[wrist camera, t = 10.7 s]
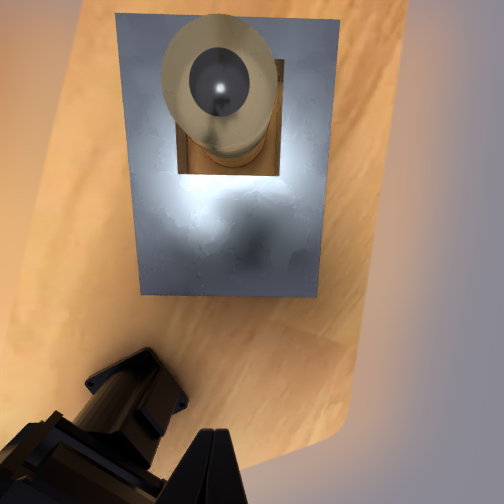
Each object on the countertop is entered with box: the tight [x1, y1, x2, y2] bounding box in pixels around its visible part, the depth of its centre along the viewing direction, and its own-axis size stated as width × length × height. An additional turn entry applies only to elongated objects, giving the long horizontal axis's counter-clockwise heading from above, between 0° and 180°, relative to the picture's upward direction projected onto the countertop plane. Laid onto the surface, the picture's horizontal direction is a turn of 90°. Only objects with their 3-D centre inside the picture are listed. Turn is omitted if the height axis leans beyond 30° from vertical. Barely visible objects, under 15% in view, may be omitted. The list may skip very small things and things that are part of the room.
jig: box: [115, 13, 340, 297], centre depth 16 cm, size 16×12×2 cm
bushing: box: [161, 14, 277, 167], centre depth 13 cm, size 5×5×7 cm
